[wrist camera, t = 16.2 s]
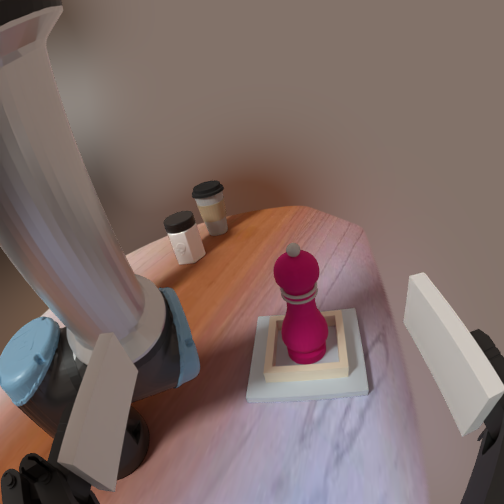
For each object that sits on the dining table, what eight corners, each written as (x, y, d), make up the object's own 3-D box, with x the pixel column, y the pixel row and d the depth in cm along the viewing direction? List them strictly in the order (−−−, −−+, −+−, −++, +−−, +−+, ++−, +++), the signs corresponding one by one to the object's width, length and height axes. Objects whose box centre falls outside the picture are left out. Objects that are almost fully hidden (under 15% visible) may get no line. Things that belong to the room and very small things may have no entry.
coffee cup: (228, 221, 102) (217, 177, 95) (237, 231, 94) (226, 184, 87) (200, 230, 100) (187, 187, 92) (207, 242, 92) (194, 194, 85)
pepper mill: (279, 343, 52) (256, 240, 42) (318, 328, 53) (307, 224, 43) (294, 373, 46) (274, 267, 36) (336, 357, 47) (331, 248, 37)
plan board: (247, 402, 45) (242, 388, 43) (259, 322, 60) (255, 306, 58) (367, 395, 41) (370, 380, 39) (355, 313, 56) (355, 297, 54)
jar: (171, 266, 85) (157, 227, 78) (180, 250, 91) (167, 213, 85) (202, 263, 83) (189, 222, 77) (209, 246, 90) (197, 208, 84)
